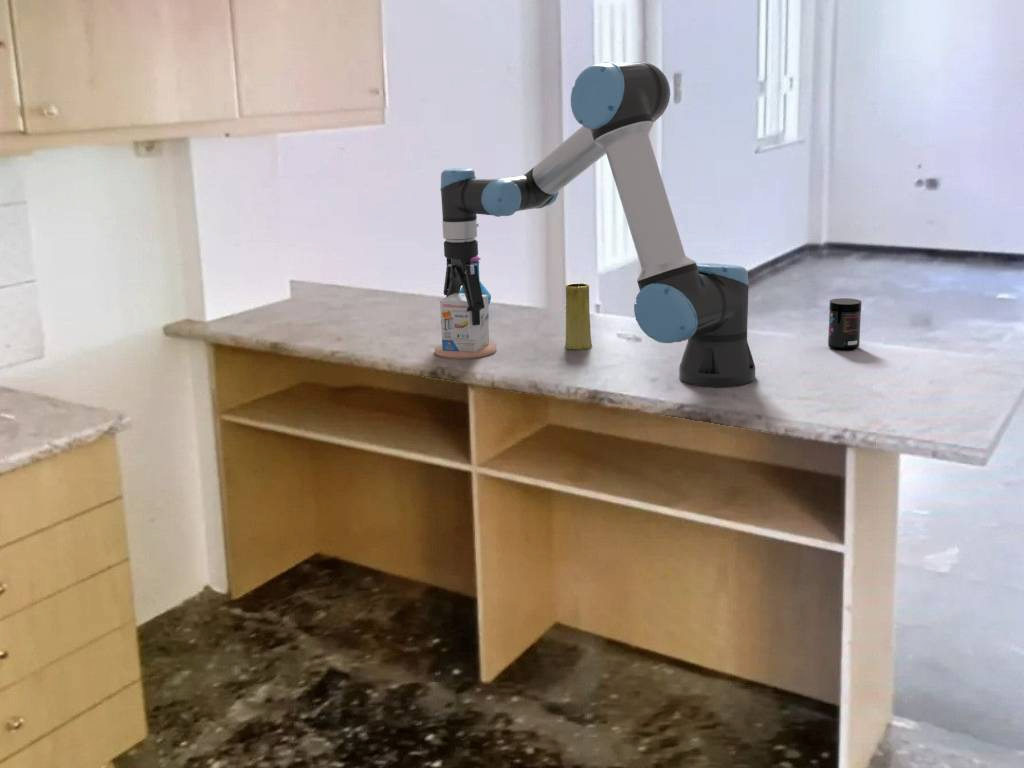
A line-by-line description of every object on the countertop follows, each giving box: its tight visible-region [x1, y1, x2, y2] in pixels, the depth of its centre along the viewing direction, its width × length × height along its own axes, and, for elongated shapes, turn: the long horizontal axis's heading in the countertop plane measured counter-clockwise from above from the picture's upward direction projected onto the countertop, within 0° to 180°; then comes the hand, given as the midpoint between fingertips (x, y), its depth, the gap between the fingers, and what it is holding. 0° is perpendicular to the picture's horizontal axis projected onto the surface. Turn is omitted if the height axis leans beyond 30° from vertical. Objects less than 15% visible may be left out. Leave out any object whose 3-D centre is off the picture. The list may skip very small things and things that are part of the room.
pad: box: [434, 341, 498, 360], centre depth 263 cm, size 14×14×1 cm
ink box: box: [439, 293, 490, 352], centre depth 261 cm, size 9×8×12 cm
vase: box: [564, 282, 593, 351], centre depth 262 cm, size 6×6×14 cm
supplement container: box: [827, 298, 863, 352], centre depth 253 cm, size 7×7×10 cm
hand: (464, 333), depth 262 cm, fingers open, 13 cm apart
